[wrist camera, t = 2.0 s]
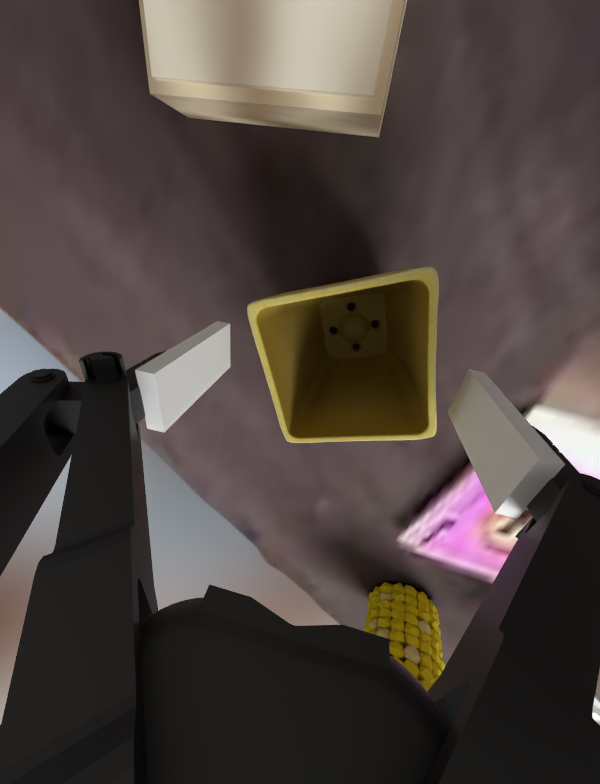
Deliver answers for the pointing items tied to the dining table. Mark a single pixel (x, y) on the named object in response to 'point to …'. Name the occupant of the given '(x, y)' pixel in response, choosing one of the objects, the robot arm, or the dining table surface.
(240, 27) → the cream square block
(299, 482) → the dining table surface
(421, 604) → the food
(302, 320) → the flower pot
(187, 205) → the dining table surface
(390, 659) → the robot arm
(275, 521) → the dining table surface
